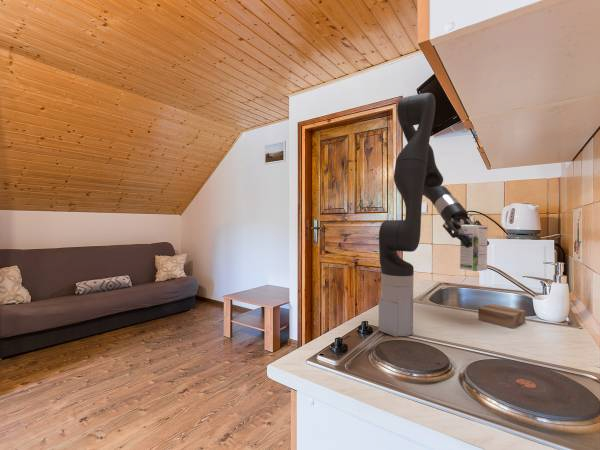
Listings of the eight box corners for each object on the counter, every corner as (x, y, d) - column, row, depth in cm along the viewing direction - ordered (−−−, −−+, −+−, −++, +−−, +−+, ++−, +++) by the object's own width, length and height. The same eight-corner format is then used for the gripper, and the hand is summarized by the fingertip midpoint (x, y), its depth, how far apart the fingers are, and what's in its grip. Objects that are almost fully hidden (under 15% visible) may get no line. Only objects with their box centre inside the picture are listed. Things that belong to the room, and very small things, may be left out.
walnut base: (513, 328, 90) (513, 315, 90) (478, 319, 98) (478, 308, 98) (525, 322, 96) (525, 310, 96) (491, 314, 104) (491, 303, 104)
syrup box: (459, 268, 96) (459, 224, 96) (470, 267, 98) (471, 224, 98) (475, 271, 91) (476, 225, 91) (487, 270, 93) (488, 224, 93)
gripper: (439, 201, 100) (467, 238, 88) (472, 202, 103) (503, 237, 92) (428, 217, 105) (453, 253, 94) (460, 217, 109) (488, 252, 97)
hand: (478, 245), depth 93 cm, fingers closed on syrup box, 6 cm apart
